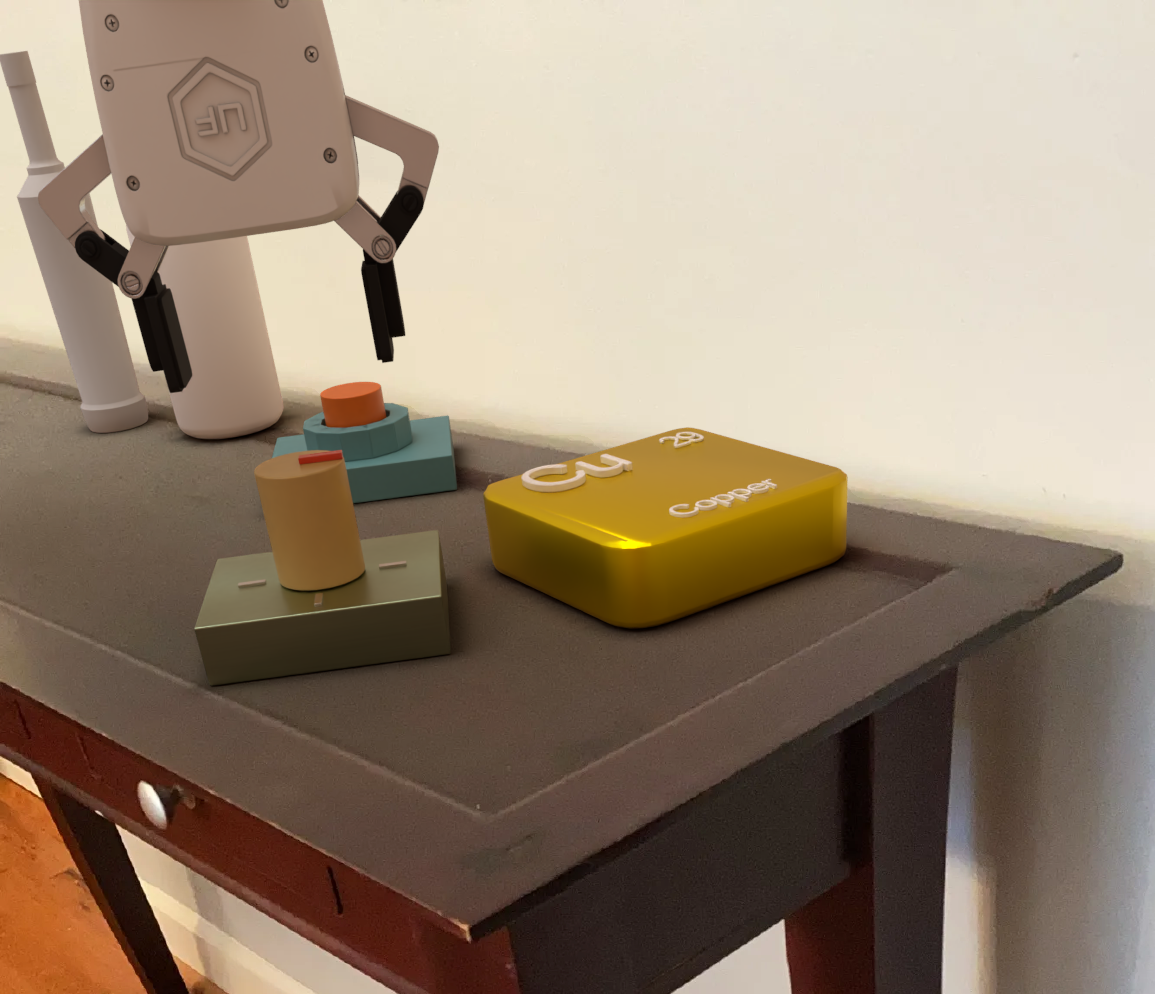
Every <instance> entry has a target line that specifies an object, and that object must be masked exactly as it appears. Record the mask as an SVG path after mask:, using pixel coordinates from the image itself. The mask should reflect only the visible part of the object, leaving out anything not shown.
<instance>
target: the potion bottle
mask: <svg viewBox="0 0 1155 994" xmlns="http://www.w3.org/2000/svg"><path fill="white" fill-rule="evenodd" d="M125 227H126V229H125V230H126V234H127V238H128V242H129V245H130V247H131V245H132V243H133V241H134V238H135V236H133V235H132V233H131V232H130V231H129V229H128V227H127V225H126V224H125ZM248 238H249V237H248V236H243V237H236V238H229V239H221V240H214V241H207V242H200V243H191V244H183V245H172V246H169V248H168V250H167V253H166V255H165V257H164V259H163V262H162V264H161V266H160V268H159V271H158V273H159V274H160V277H161V281H162V285H163V284H166V288H167V289H168V288H170V289H171V292H172V296H173V300H174V303H175V307H176V311H177V315H178V319H179V323H180V327H181V330H182V334H183V338H184V342H185V346H186V350H187V354H188V358H189V361H190V365H191V369H192V377H191V379H190V381H189V383H188V385H187V386H186V388H184V389H183V391H182V392H175V393H170V391H169V389H168V386H167V385H166V387H167V390H168V394H169V397H170V401H171V406H172V409H173V413H174V416H175V421H176V423H177V426H178V427H179V429H180V431H182V432H183V434H186V435H187V436H190V437H192V438H195V439H200V440H201V439H202V440H224V439H232V438H233V439H234V438H236V437H243V436H249V435H250V434H255V433H259V432H261V431H263V430H265V429H268V428H270V427H271V426H273V425H274V424H276V423H277V422H278V421H279V419H280V418H281V416H282V414H283V412H284V409H285V406H284V400H283V396H282V391H281V387H280V383H279V382H280V381H279V377H278V372H277V369H276V363H275V359H274V355H273V350H272V349H273V348H272V345H271V340H270V335H269V332H268V327H267V321H266V318H265V313H264V307H263V304H262V299H261V294H260V290H259V289H260V288H259V284H258V281H257V276H256V271H255V266H254V261H253V257H252V252H251V248H250V243H249V239H248ZM163 376H165V374H164V373H163ZM164 379H165V380H166V378H165V377H164ZM165 382H166V381H165ZM166 384H167V382H166Z"/></svg>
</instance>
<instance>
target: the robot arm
mask: <svg viewBox="0 0 1155 994" xmlns="http://www.w3.org/2000/svg"><path fill="white" fill-rule="evenodd" d="M78 6H79V14H80V20H81V28H82V35H83V40H84V46H85V52H86V53H85V54H86V57H87V63H88V64H87V65H88V69H89V75H90V80H91V85H92V89H93V95H94V100H95V105H96V109H97V115H98V118H99V123H100V127H101V128H100V129H101V132H102V134H101V135H100V136H99V137H97V139H95V140H94V141H93V142H91V144H90V145H89V146H88V147H86V148H85V149H83V151H82V152H81V153H80V154H78V156H76V157H75V158H74V159H73V160H72V161H70V163H68V165H66V166H65V168H64V169H63V170H62V171H61V172H60V173H59V174H58V175H57V176H55V177H54V178H53V179H52V180H51V181H50V182H49V183H48V184H47V185H45V186H44V187H43V188H42V189H41V190H40V192H39V194H38V201H39V204H40V206H41V208H42V209H43V210H44V212H45V213H46V214H47V215H48V217H49V218H50V219H51V220H52V222H53V223H54V224H55V225H56V227H57V228H58V229H59V230H60V232H61V233H62V234H63V235H64V237H65V238H66V239H67V240H69V242H70V243H71V244H72V245H73V247H74V248H75V250H76V253H77V254H78V256H79V257H80V258H81V259H82V260H83V261H84V262H86V263H87V264H88V265H90V266H91V267H92V268H94V269H95V270H96V271H98V272H99V273H100V274H102V275H103V276H104V277H106V278H107V279H108V280H110V281H111V282H112V284H113V285H115V286H116V287H118V289H119V291H120V292H121V294H122V295H124V296H125V297H126V298H129V299H131V302H132V306H133V310H134V313H135V317H136V320H137V324H138V327H139V331H140V335H141V339H142V343H143V346H144V350H145V354H146V357H147V360H148V361H147V362H148V365H149V367H150V369H151V371H152V372H154V373H155V372H163V375H164V374H165V375H164V379H165V378H166V379H165V382H167V383H166V387H167V386H168V387H167V390H168V389H169V390H168V392H169V391H170V393H175V392H182V391H183V389H184V388H186V386H187V385H188V383H189V381H190V379H191V377H192V369H191V365H190V361H189V358H188V354H187V350H186V346H185V342H184V338H183V334H182V330H181V327H180V323H179V319H178V315H177V311H176V307H175V303H174V300H173V296H172V292H171V289H170V288H168V289H167V288H166V284H163V285H162V281H161V277H160V274H159V273H158V271H159V268H160V266H161V264H162V262H163V259H164V257H165V255H166V253H167V250H168V248H169V246H172V245H183V244H191V243H200V242H207V241H214V240H221V239H229V238H236V237H243V236H247V237H250V236H256V235H263V234H270V233H276V232H284V231H292V230H298V229H303V228H309V227H316V226H320V225H321V226H322V225H326V224H329V223H332V222H334V223H336V224H337V225H338V226H339V228H341V229H342V230H343V231H344V232H345V233H346V234H347V235H348V236H349V237H350V238H351V239H352V240H353V241H354V242H355V243H356V244H357V245H358V246H359V247H360V248H361V249H362V255H363V260H362V262H361V267H360V272H361V274H360V275H361V280H362V284H363V290H364V295H365V300H366V307H367V312H368V317H369V323H370V326H371V327H370V329H371V332H372V339H373V345H374V350H375V355H376V356H375V357H376V360H377V361H381V363H382V364H386V363H392V362H393V363H394V355H395V347H394V340H393V339H394V338H400V337H401V338H402V337H406V328H405V321H404V315H403V309H402V303H401V297H400V291H399V285H398V280H397V273H396V269H395V262H394V261H395V260H394V258H395V256H396V253H397V251H398V250H399V249H400V246H401V245H402V244H403V243H404V241H405V239H406V238H407V236H408V234H409V233H410V231H411V229H412V228H413V226H414V225H415V223H416V222H417V220H418V218H419V217H420V215H421V214H422V212H423V209H424V207H425V202H426V199H427V195H428V191H429V188H430V184H431V180H432V177H433V174H434V169H435V166H436V162H437V159H438V155H439V152H440V151H439V150H440V145H439V144H440V143H439V140H438V138H437V136H436V134H434V133H433V132H432V131H429V130H428V129H425V128H424V127H423V128H422V127H420V126H418V125H415V124H413V123H411V122H408V121H406V120H404V119H402V118H399V117H397V116H395V115H393V114H390V113H388V112H386V111H383V110H382V109H379V108H376V107H374V106H372V105H370V104H367V103H365V102H363V101H360V100H359V99H356V98H354V97H351V96H349V95H347V94H346V92H345V88H344V82H343V78H342V75H341V74H342V73H341V69H340V65H339V61H338V56H337V52H336V47H335V45H334V39H333V35H332V31H331V27H330V23H329V20H328V15H327V11H326V9H325V4H324V0H78ZM356 138H357V139H360V140H362V141H365V142H367V143H370V144H372V145H374V146H377V147H379V148H382V149H384V150H386V151H389V152H391V153H393V154H395V155H397V156H398V157H399V158H400V159H401V161H402V164H403V168H402V173H401V176H400V181H399V185H398V188H397V190H396V192H395V193H394V194H393V197H392V198H391V200H390V202H389V203H388V205H387V206H386V208H385V210H384V211H383V213H382V214H381V215H380V214H379V213H378V212H377V211H375V209H373V208H372V206H371V205H369V204H368V203H367V202H366V201H365V199H364V198H362V196H360V195H359V194H360V172H359V171H360V170H359V169H360V168H359V159H358V158H359V157H358V152H357V146H356V145H357V144H356V140H355V139H356ZM110 176H111V178H112V182H113V186H114V187H113V188H114V190H115V193H116V194H115V195H116V198H117V201H118V205H119V209H120V212H121V214H122V218H123V220H124V222H125V226H126V225H127V227H128V229H129V231H130V232H131V233H132V235H133V236H135V238H134V241H133V243H132V245H131V246H130V248H129V249H128V248H126V247H125V246H124V245H123V244H121V243H120V242H118V241H117V240H116V239H115V238H113V237H112V236H110V235H109V234H108V233H107V232H105V231H104V230H103V229H101V228H100V227H99V225H98V224H97V225H98V226H97V225H96V224H95V222H94V221H93V220H92V217H91V216H90V215H89V213H88V212H87V210H86V208H85V198H86V197H87V195H88V194H89V193H91V192H92V191H94V190H95V189H96V188H97V187H98V186H100V184H102V183H103V182H104V181H105V180H106V179H108V177H110Z"/></svg>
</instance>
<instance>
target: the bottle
mask: <svg viewBox="0 0 1155 994" xmlns="http://www.w3.org/2000/svg"><path fill="white" fill-rule="evenodd" d="M0 67H1V70H2V73H3V74H2V75H3V77H4V81H5V84H6V87H8V91H9V95H10V98H11V102H12V106H13V108H14V112H15V115H16V119H17V122H18V126H19V129H20V133H21V136H22V140H23V143H24V147H25V150H26V154H27V157H28V161H29V162H28V163H29V164H28V165H27V167H26V171H27V177H26V179H25V180H24V182H23V184H22V186H21V188H20V190H19V192H18V194H17V196H16V198H17V202H18V205H19V208H20V211H21V214H22V217H23V221H24V223H25V226H26V227H25V228H26V230H27V233H28V237H29V239H30V243H31V246H32V249H33V252H34V255H35V259H36V261H37V263H38V267H39V271H40V273H41V277H42V280H43V283H44V286H45V290H46V293H47V296H48V299H49V302H50V305H51V308H52V311H53V315H54V318H55V321H56V324H57V327H58V330H59V333H60V336H61V340H62V342H63V347H64V349H65V353H66V355H67V358H68V362H69V364H70V368H71V371H72V374H73V377H74V381H75V384H76V386H77V390H78V393H79V396H80V399H81V404H80V407H79V408H80V412H81V415H82V418H83V420H84V423H85V425H86V426H87V428H88V429H89V430H90V432H92V433H98V434H101V433H114V432H121V431H127V430H130V429H134V428H137V427H139V426H142V425H144V424H145V423H147V422H148V420H149V407H148V403H147V400H146V395H145V394H144V393H143V392H141V390H140V386H139V382H138V378H137V374H136V370H135V366H134V363H133V358H132V355H131V351H130V347H129V343H128V339H127V335H126V330H125V327H124V323H123V320H122V316H121V315H122V314H121V311H120V307H119V305H118V300H117V295H116V293H115V288H114V283H112V282H111V281H110V280H108V279H107V278H106V277H104V276H103V275H102V274H100V273H99V272H98V271H96V270H95V269H94V268H92V267H91V266H90V265H88V264H87V263H86V262H84V261H83V260H82V259H81V258H80V257H79V256H78V254H77V253H76V250H75V248H74V247H73V245H72V244H71V243H70V242H69V240H67V239H66V238H65V237H64V235H63V234H62V233H61V232H60V230H59V229H58V228H57V227H56V225H55V224H54V223H53V222H52V220H51V219H50V218H49V217H48V215H47V214H46V213H45V212H44V210H43V209H42V208H41V206H40V204H39V201H38V194H39V192H40V190H41V189H42V188H43V187H44V186H45V185H47V184H48V183H49V182H50V181H51V180H52V179H53V178H54V177H55V176H57V175H58V174H59V173H60V172H61V171H62V170H63V169H64V168H65V167H66V166H65V163H64V162H63V161H61V160H60V159H59V157H57V153H56V149H55V146H54V142H53V139H52V135H51V131H50V128H49V124H48V121H47V118H46V115H45V110H44V107H43V103H42V100H41V96H40V93H39V90H38V86H37V79H36V76H35V72H34V68H33V65H32V62H31V58H30V54H29V51H28V50H22V51H21V50H20V51H13V52H6V53H0ZM90 193H91V192H90ZM90 193H89V194H88V195H87V197H86V198H85V208H86V210H87V212H88V213H89V215H90V216H91V217H92V220H93V221H94V222H95V224H96V225H97V226H98V227H99V224H98V220H97V217H96V213H95V209H94V205H93V201H92V197H91V194H90Z"/></svg>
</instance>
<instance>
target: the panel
mask: <svg viewBox="0 0 1155 994" xmlns="http://www.w3.org/2000/svg"><path fill="white" fill-rule="evenodd" d="M360 542H361V547H362V552H363V558H364V563H365V570H364V572H363V573H362V575H360V576H359V577H358V578H356V579H354V580H352V581H350V582H348V583H345V584H342V585H339V586H336V587H332V588H327V589H321V590H293V589H289V588H286V587H284V586H282V585H281V583H280V581H279V578H278V573H277V569H276V565H275V561H274V556H273V552H272V551H268V552H259V553H252V554H245V555H237V556H229V557H222V558H217V559H216V561H215V565H214V567H213V571H212V574H211V577H210V579H209V582H208V585H207V589H206V591H205V595H204V598H203V601H202V603H201V607H200V609H199V612H198V616H197V620H196V622H195V625H194V629H193V630H194V633H195V638H196V641H197V645H198V648H199V652H200V655H201V659H202V663H203V666H204V669H205V673H206V677H207V681H208V684H209V686H213V687H214V686H220V685H228V684H235V683H243V682H250V681H258V680H265V679H273V678H279V677H288V676H295V675H302V674H311V673H317V672H325V671H326V672H327V671H333V670H340V669H347V668H355V667H362V666H369V665H377V664H384V663H385V664H386V663H392V662H400V661H409V660H415V659H422V658H430V657H436V656H437V657H438V656H445V655H450V654H451V653H452V650H451V649H452V648H451V631H450V613H449V597H448V595H449V594H448V581H447V574H446V568H445V563H444V562H445V561H444V556H443V549H442V544H441V543H442V542H441V537H440V531H439V530H438V529H434V530H426V531H425V530H424V531H419V532H411V533H405V534H397V535H389V536H382V537H374V538H366V539H360Z"/></svg>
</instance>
